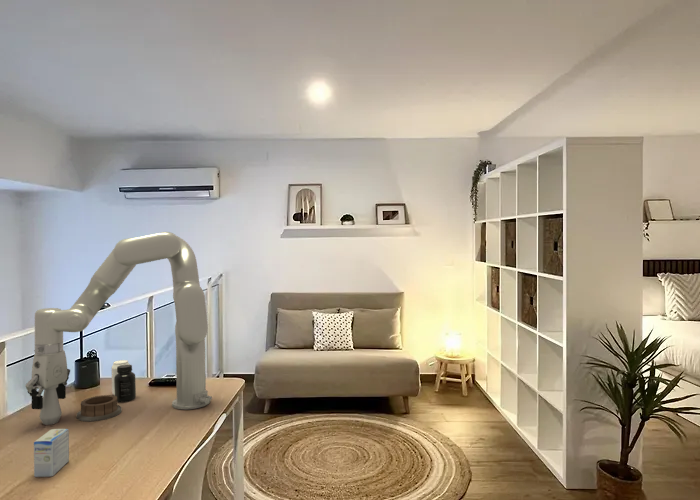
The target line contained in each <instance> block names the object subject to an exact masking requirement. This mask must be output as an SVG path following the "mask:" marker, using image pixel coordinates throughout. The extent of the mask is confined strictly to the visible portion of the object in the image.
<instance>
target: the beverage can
mask: <svg viewBox="0 0 700 500" xmlns="http://www.w3.org/2000/svg"><path fill="white" fill-rule="evenodd" d="M121 365H131V364H130V362H129V360H127V359H121V360H120V359H119V360H116V361H114V362H113V363H112V366H111V393H112V394H111V395H113V396H115V389H114V377H115V375H116V374H118V373H117V367H118V366H121Z"/></svg>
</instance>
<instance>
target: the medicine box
mask: <svg viewBox="0 0 700 500" xmlns="http://www.w3.org/2000/svg"><path fill="white" fill-rule="evenodd" d="M69 461H70V431H69V428H51V429H49V430H48V431H47V432H45V433H44V434H43V435H42V436H40V437H39V438H38V439H36V440H34V442H33V477H35V478H47V477H49V478H50V477H53V476H55V475H56V474H57V473H58V472H59V471H60V470H62V468H63V467H64V466H66V464H67V463H69Z"/></svg>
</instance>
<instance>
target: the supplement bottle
mask: <svg viewBox="0 0 700 500" xmlns="http://www.w3.org/2000/svg"><path fill="white" fill-rule="evenodd" d="M117 373H118V374H116V375H115V377H114V389H115V395H114V396H117V403H128V402H132V401H134V400H135V399H136V397H137V393H136V392H137V390H136V388H137V387H136V385H137V384H136V374H135V373H134V372H133V365H132V364H130V365H121V366H118V367H117Z"/></svg>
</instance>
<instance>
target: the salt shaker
mask: <svg viewBox="0 0 700 500" xmlns="http://www.w3.org/2000/svg"><path fill="white" fill-rule="evenodd" d="M57 387H58V384H57V385H55V386H52V387H50V388H44V390H43V393H42V394H43V395H42V396H43V408H42V409H40V413H39V420H40V422H41V423H42V425H45V426H49V425H50V426H51V425H54V424H57V423H59V421H60V419H61V417H62V413H63V412H62V409H61V404H60V401H59V400H60V399H58V396H57V392H56V388H57Z"/></svg>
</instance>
